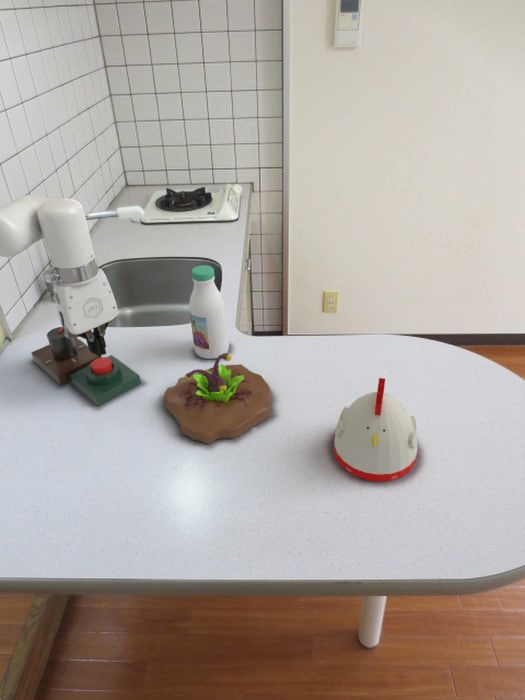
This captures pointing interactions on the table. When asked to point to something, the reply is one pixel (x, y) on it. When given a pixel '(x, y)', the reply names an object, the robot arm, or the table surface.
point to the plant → (219, 401)
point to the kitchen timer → (376, 437)
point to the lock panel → (63, 361)
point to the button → (101, 366)
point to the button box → (105, 381)
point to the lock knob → (61, 344)
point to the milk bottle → (207, 315)
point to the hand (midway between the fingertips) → (99, 352)
